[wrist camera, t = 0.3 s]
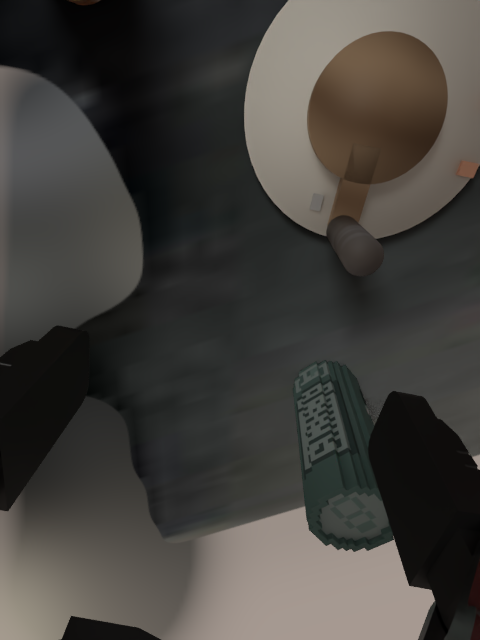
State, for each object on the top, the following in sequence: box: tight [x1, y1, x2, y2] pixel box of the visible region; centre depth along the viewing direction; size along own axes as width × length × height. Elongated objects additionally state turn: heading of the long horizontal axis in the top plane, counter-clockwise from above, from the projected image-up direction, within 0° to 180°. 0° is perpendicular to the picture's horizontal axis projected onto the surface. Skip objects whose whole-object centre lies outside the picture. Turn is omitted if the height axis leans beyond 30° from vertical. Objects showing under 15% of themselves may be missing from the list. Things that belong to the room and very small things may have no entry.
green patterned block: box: [293, 360, 394, 552], centre depth 32 cm, size 6×6×15 cm
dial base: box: [244, 0, 480, 239], centre depth 28 cm, size 18×18×2 cm
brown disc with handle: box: [307, 31, 448, 276], centre depth 24 cm, size 14×9×8 cm, turn 170°
